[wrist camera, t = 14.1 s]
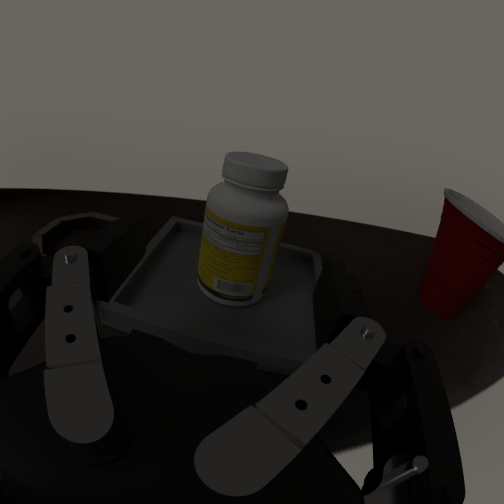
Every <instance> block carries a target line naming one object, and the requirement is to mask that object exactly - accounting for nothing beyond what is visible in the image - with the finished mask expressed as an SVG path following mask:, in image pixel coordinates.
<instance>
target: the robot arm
mask: <svg viewBox="0 0 504 504" xmlns="http://www.w3.org/2000/svg"><path fill="white" fill-rule="evenodd" d="M146 246H147V216H146V215H145V214H142V213H137V212H133V211H130V212H128V213H127V214H126V215H125V216H123V217H122V218H121V219H117V220H115V221H112V222H110V223H108V224H107V225H105V226H104V227H103V228H102V230H101V229H100V230H99V231H98V232H97V234H94V235H93V236H92V237H91V238H90V239H89V240H87V241H86V242H85V243H84V244H83V245H82V246H81V247H80V246H68V247H64V248H62V249H60V250H59V251H57V252H56V254H55V255H54V256H42V255H41V253H40V248H39V246H38V245H37V244H35V243H24V244H21V245H19V246H17V247H15V248H14V249H13V250H12V251H11V252H10V253H8V254H7V255H6V256H5V257H4V258H3V259H2V260H1V261H0V504H463V501H464V498H465V483H464V475H463V469H462V462H461V457H460V451H459V446H458V440H457V436H456V431H455V427H454V422H453V418H452V414H451V410H450V406H449V403H448V399H447V396H446V392H445V389H444V385H443V382H442V379H441V376H440V373H439V369H438V366H437V363H436V360H435V358H434V355H433V352H432V350H431V349H430V348H429V346H428V345H427V344H425V343H424V342H423V341H421V340H418V339H414V338H411V339H408V340H407V341H406V342H405V343H404V345H403V346H401V345H398V344H396V343H393V342H391V341H389V340H387V339H386V334H385V331H384V330H383V328H382V327H381V326H380V325H379V324H378V323H377V322H376V321H374V320H372V319H370V316H369V312H368V309H367V306H366V303H365V300H364V297H363V294H362V291H361V288H360V285H359V283H358V282H357V280H356V279H355V278H354V277H353V276H351V275H348V272H347V269H346V265H345V263H344V262H341V261H337V260H333V259H329V258H328V259H327V260H326V261H325V264H324V266H323V269H322V271H321V273H320V276H319V278H318V281H317V283H316V286H315V288H314V292H313V298H312V302H313V313H314V325H315V338H316V352H315V353H314V354H313V355H312V356H311V357H310V358H309V359H308V360H307V361H306V362H305V363H304V364H303V365H301V366H300V367H299V368H298V369H297V370H296V371H295V372H294V373H292V374H291V375H290V376H289V377H288V378H287V379H286V380H284V381H283V382H282V383H281V384H280V385H277V384H276V383H275V382H274V381H272V380H271V379H269V378H268V377H266V376H264V375H262V374H260V373H258V372H257V366H258V362H253V361H248V360H244V359H239V358H235V357H230V356H226V355H204V354H192V353H189V352H187V351H185V350H183V349H181V348H179V347H177V346H175V345H174V344H172V343H170V342H168V341H166V340H164V339H163V338H160V337H157V336H154V335H151V334H148V333H145V332H142V331H139V330H136V329H132V331H131V333H130V334H129V336H128V337H120V336H117V337H108V338H103V339H102V338H101V333H100V328H99V322H98V317H97V310H96V305H95V303H96V302H97V300H101V301H104V302H107V303H108V302H109V301H110V300H111V298H112V297H113V296H114V294H115V293H116V292H117V290H118V289H119V288H120V286H121V285H122V284H123V283H124V281H125V280H126V279H127V277H128V276H129V275H130V274H131V272H132V271H133V270H134V269H135V267H136V266H137V265H138V264H139V262H140V261H141V260H142V259H143V257H144V255H145V252H146ZM19 287H20V290H21V293H22V296H23V297H22V298H21V299H20V300H19V301H18V302H17V304H16V305H15V306H14V307H13V308H12V309H11V311H9V307H8V303H9V299H10V297H11V296H12V294H13V293H14V292H15V291H16V290H17V289H18V288H19ZM44 318H45V343H46V362H44V363H41V364H39V365H36V366H34V367H31V368H29V369H26V370H24V371H21V372H19V373H16V374H14V375H11V376H9V369H10V367H11V366H12V364H13V363H14V361H15V359H16V358H17V356H18V355H19V353H20V352H21V350H22V349H23V347H24V346H25V344H26V343H27V341H28V340H29V338H30V337H31V336H32V334H33V333H34V331H35V330H36V329H37V327H38V326H39V324H40V323H41V322H42V320H43V319H44ZM8 376H9V377H8ZM354 387H355V388H358V389H360V390H363V391H365V392H368V394H369V404H370V415H371V427H372V443H373V466H374V467H373V469H371V470H370V471H369V472H368V474H367V475H366V477H365V480H364V485H363V487H362V490H360V488H359V486H358V485H357V484H356V482H355V481H354V480H353V479H352V477H351V476H350V475H349V474H348V473H347V471H346V470H345V469H344V468H343V467H342V465H341V464H340V463H339V462H338V461H337V459H336V458H335V457H334V455H333V454H332V453H331V452H330V450H329V449H328V448H327V447H326V445H325V444H324V443H323V442H322V440H321V439H320V438H319V436H318V435H317V434H316V433H317V432H318V431H319V430H320V429H321V427H322V426H323V425H324V424H325V423H326V422H327V420H328V419H329V418H330V417H331V416H332V415H333V413H334V412H335V411H336V410H337V408H338V407H339V406H340V405H341V403H342V402H343V401H344V400H345V398H346V397H347V396H348V394H349V393H350V392H351V390H352V389H353V388H354ZM404 394H405V395H406V400H407V407H406V408H405V402H404V397H403V395H404Z"/></svg>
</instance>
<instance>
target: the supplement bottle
mask: <svg viewBox="0 0 504 504" xmlns="http://www.w3.org/2000/svg"><path fill="white" fill-rule="evenodd" d="M222 172H223V173H222V177H223V178H224V179H225V181H224V182H222V183H219V184H217V185H215V186H214V187H213V188H212V189H211V190H210V192H209V194H208V197H207V202H206V208H205V216H204V223H203V231H202V238H201V246H200V255H199V263H198V274H197V280H198V285H199V287H200V289H201V290H202V292H203V293H204V294H205V295H206V296H207V297H209V298H210V299H212V300H214V301H215V302H218V303H220V304H223V305H227V306H234V307H241V306H247V305H251V304H254V303H256V302H257V301H259V300H260V299H261V298H262V297H263V296H264V294H265V292H266V289H267V287H268V283H269V280H270V277H271V273H272V270H273V266H274V263H275V259H276V256H277V252H278V249H279V245H280V242H281V238H282V235H283V231H284V228H285V224H286V221H287V216H288V205H287V202H286V200H285V199H284V198H283V197H282V196H281V195H280V194H279V191H280V190H282V189H283V188H284V184H285V181H286V176H287V172H288V166H287V165H286V164H285V163H283V162H281V161H279V160H277V159H274V158H271V157H267V156H264V155H259V154H254V153H247V152H230V153H227V154H226V156H225V160H224V165H223V169H222Z"/></svg>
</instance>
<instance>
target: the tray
mask: <svg viewBox="0 0 504 504" xmlns="http://www.w3.org/2000/svg"><path fill="white" fill-rule="evenodd" d="M202 231H203V223H199V222H195V221H191V220H187V219H182V218H178V217H174V216H173V217H172V218H171V219H170V220H169V221H168V222H167V223H166V224H165V225H164V226H163V228H162V229H161V230H160V231H159V232H158V233H157V234H156V235H155V236H154V238H153V239H152V240H151V241H150V242H149V243H148V244H147V246H146V252H145V255H144V257H143V259H142V260H141V261H140V262H139V264H138V265H137V266H136V267H135V269H134V270H133V271H132V272H131V274H130V275H129V276H128V277H127V279H126V280H125V281H124V283H123V284H122V285H121V286H120V288H119V289H118V290H117V292H116V293H115V294H114V296H113V297H112V298H111V300H110V301H109V302H108V303H107V302H104V301H100V302H99V304H98V305H97V307H98V312H99V317H100V322H101V323H102V324H105V325H107V326H110V327H113V328H115V329H118V330H121V331H123V332H126V333H129V334H130V333H131V331H132V329H136V330H139V331H142V332H145V333H148V334H151V335H154V336H157V337H160V338H163V339H164V340H166V341H168V342H170V343H172V344H174V345H175V346H177V347H179V348H181V349H183V350H185V351H187V352H189V353H192V354H204V355H226V356H230V357H235V358H239V359H244V360H248V361H253V362H258V366H257V370H262V371H267V372H272V373H277V374H283V375H288V376H290V375H291V374H292V373H294V372H295V371H296V370H297V369H298V368H299V367H300V366H301V365H303V364H304V363H305V362H306V361H307V360H308V359H309V358H310V357H311V356H312V355H313V354H314V353H315V352H316V338H315V325H314V313H313V302H312V298H313V292H314V288H315V286H316V283H317V281H318V278H319V276H320V273H321V271H322V269H323V267H322V261H321V256H320V252H317V251H314V250H310V249H306V248H302V247H298V246H294V245H290V244H286V243H282V242H280V245H279V249H278V252H277V256H276V259H275V263H274V266H273V270H272V273H271V277H270V280H269V283H268V287H267V289H266V292H265V294H264V296H263V297H262V298H261V299H260V300H259V301H257V302H256V303H254V304H251V305H247V306H241V307H234V306H227V305H223V304H220V303H218V302H215V301H214V300H212V299H210V298H209V297H207V296H206V295H205V294H204V293H203V292H202V290H201V289H200V287H199V285H198V280H197V274H198V263H199V255H200V246H201V238H202Z"/></svg>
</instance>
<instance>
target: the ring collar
mask: <svg viewBox="0 0 504 504" xmlns="http://www.w3.org/2000/svg"><path fill="white" fill-rule="evenodd" d="M59 218H60V219H57V218H56V219H55V220H54V221H52V222H51V223H49V224H48V225H46V226H45V227H44V228H42V229H41V230H39V231H38V232H37V233H35V234H34V236H33V243H35V244H37V245H38V246H39V248H40V253H41V255H42V256H48V255H45V254H44V246H46V245H47V244H48V243H49V242H51V241H52V240H53V239H54V238H56V237H57V236H58V235H60V234H61V233H62V232H65V231H70V230H76V229H81V228H87V227H94V228H97V229H101V230H102V228H103V227H104V226H105V225H107V224H108V223H110V222H112V221H115V220H117V219H121V218H117V217H113V216H108V215H104V214H100V213H96V212H93V213H91V212H88V213H82V214H75V215H70V216H64V217H59Z"/></svg>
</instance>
